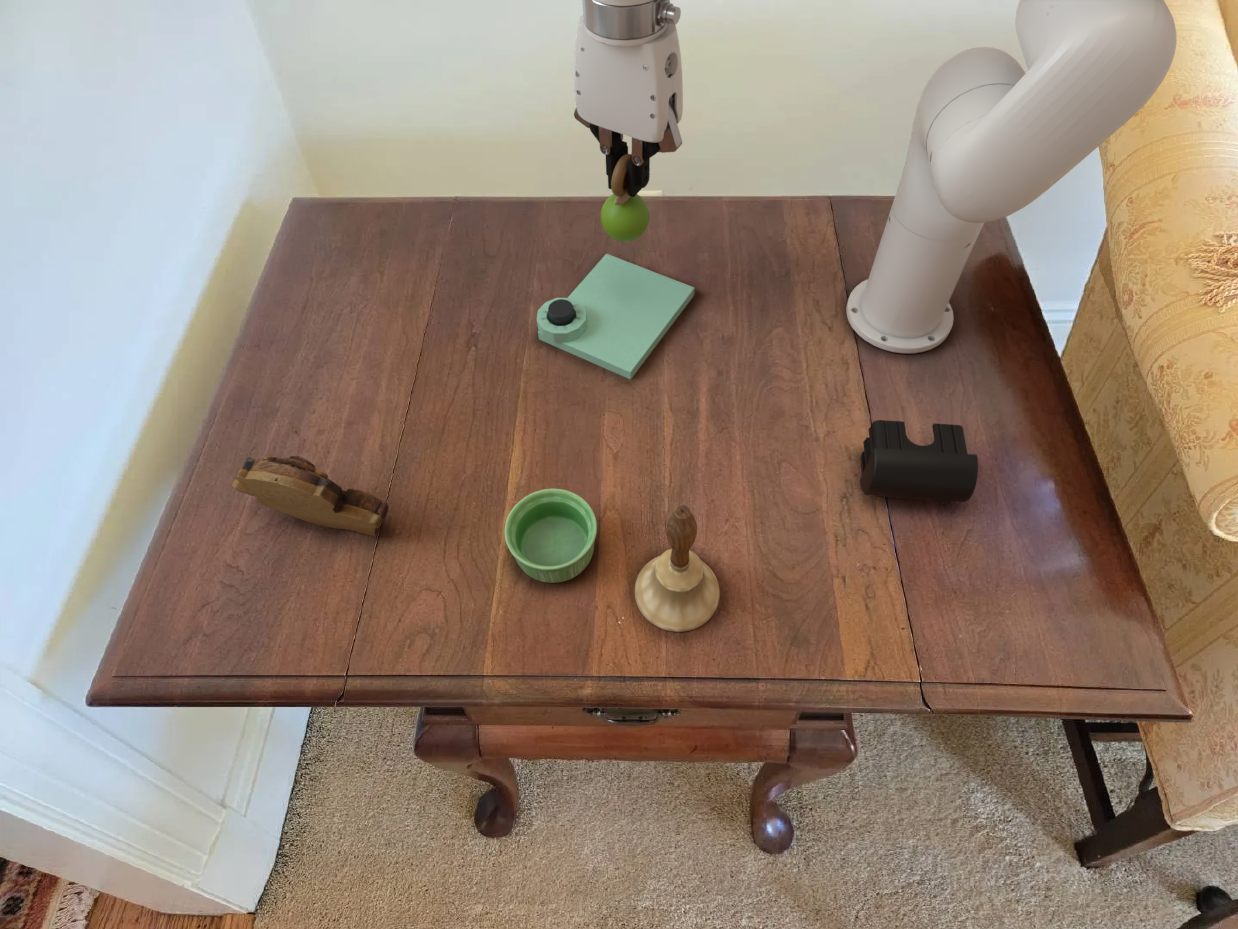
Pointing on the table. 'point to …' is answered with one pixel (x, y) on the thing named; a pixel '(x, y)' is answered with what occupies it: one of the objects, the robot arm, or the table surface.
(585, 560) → the ramekin
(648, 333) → the scale
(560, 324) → the button
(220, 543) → the table surface
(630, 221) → the snail figurine
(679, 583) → the hand bell
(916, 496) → the end cap
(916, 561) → the table surface
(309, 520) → the wooden carving
